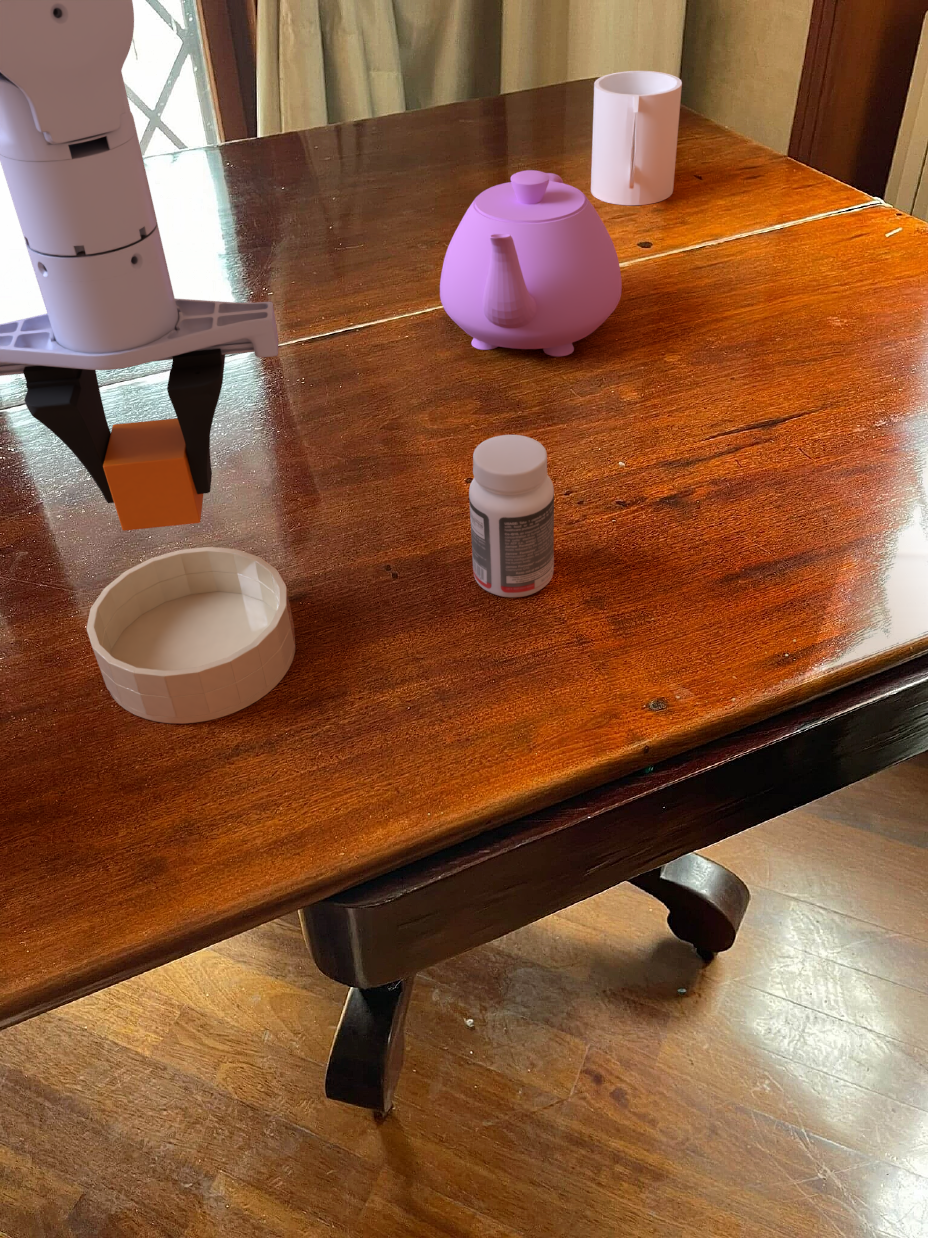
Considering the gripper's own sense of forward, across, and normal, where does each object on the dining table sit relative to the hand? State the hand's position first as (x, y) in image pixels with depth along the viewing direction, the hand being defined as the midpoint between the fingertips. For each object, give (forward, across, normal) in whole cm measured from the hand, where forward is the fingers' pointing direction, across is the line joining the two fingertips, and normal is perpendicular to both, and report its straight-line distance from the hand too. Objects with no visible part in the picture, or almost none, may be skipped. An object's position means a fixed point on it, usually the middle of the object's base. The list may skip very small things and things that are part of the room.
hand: (161, 487), depth 57 cm
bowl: (+9, -1, +4) cm, 9 cm away
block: (+1, 0, 0) cm, 1 cm away
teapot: (+9, -24, -30) cm, 40 cm away
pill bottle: (+9, -19, 0) cm, 21 cm away
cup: (+9, -39, -58) cm, 70 cm away
